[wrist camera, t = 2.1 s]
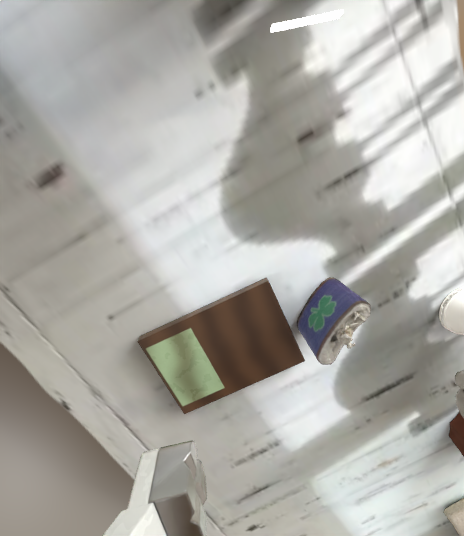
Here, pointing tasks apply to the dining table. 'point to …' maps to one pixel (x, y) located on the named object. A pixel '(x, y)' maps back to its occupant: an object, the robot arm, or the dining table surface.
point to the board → (222, 347)
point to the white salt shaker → (453, 312)
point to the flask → (331, 319)
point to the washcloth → (456, 516)
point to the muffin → (457, 432)
